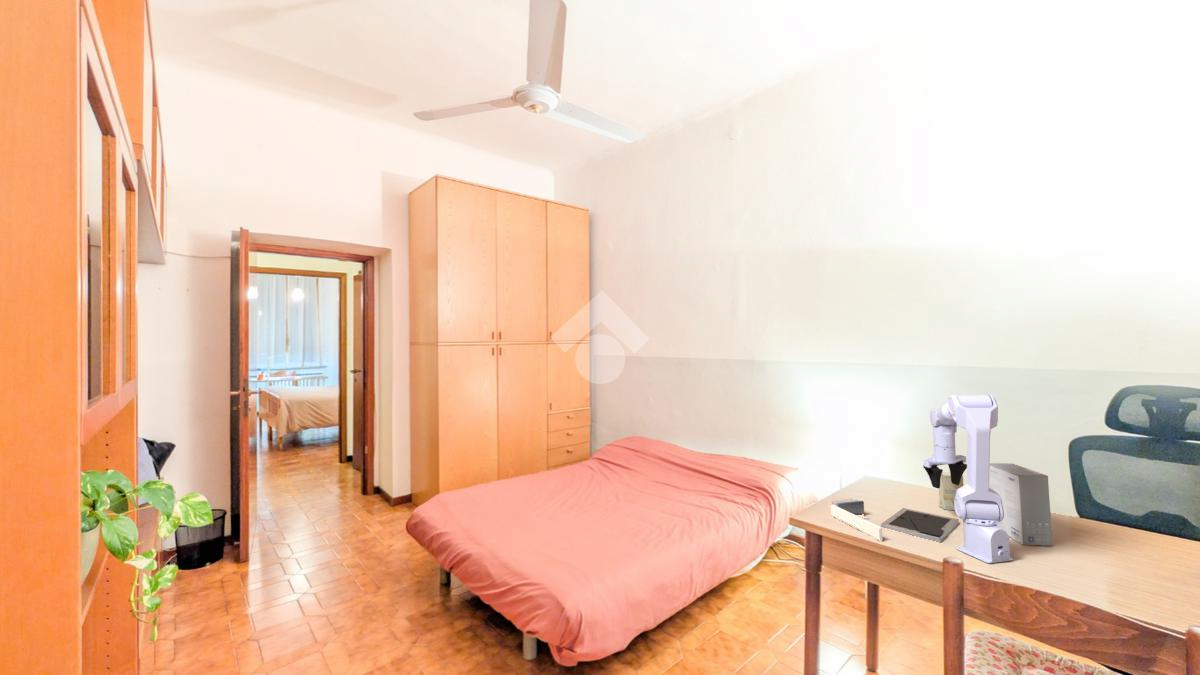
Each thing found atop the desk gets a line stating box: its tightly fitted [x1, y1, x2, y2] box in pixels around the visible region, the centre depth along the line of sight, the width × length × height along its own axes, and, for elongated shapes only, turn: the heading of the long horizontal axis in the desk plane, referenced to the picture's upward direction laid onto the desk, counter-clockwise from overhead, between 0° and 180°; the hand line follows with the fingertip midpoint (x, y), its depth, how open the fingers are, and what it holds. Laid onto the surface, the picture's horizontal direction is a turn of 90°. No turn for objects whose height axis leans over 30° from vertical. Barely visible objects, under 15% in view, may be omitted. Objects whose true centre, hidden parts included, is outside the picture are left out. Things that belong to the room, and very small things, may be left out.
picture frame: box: [880, 507, 960, 543], centre depth 150 cm, size 16×3×21 cm
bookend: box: [837, 500, 865, 515], centre depth 159 cm, size 3×10×5 cm, turn 100°
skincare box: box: [938, 471, 964, 511], centre depth 164 cm, size 6×4×12 cm
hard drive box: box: [989, 462, 1053, 547], centre depth 140 cm, size 16×8×20 cm, turn 168°
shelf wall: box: [830, 504, 883, 540], centre depth 151 cm, size 22×1×4 cm, turn 10°
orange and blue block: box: [831, 498, 860, 506], centre depth 162 cm, size 4×9×5 cm, turn 100°
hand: (945, 485), depth 154 cm, fingers open, 7 cm apart
